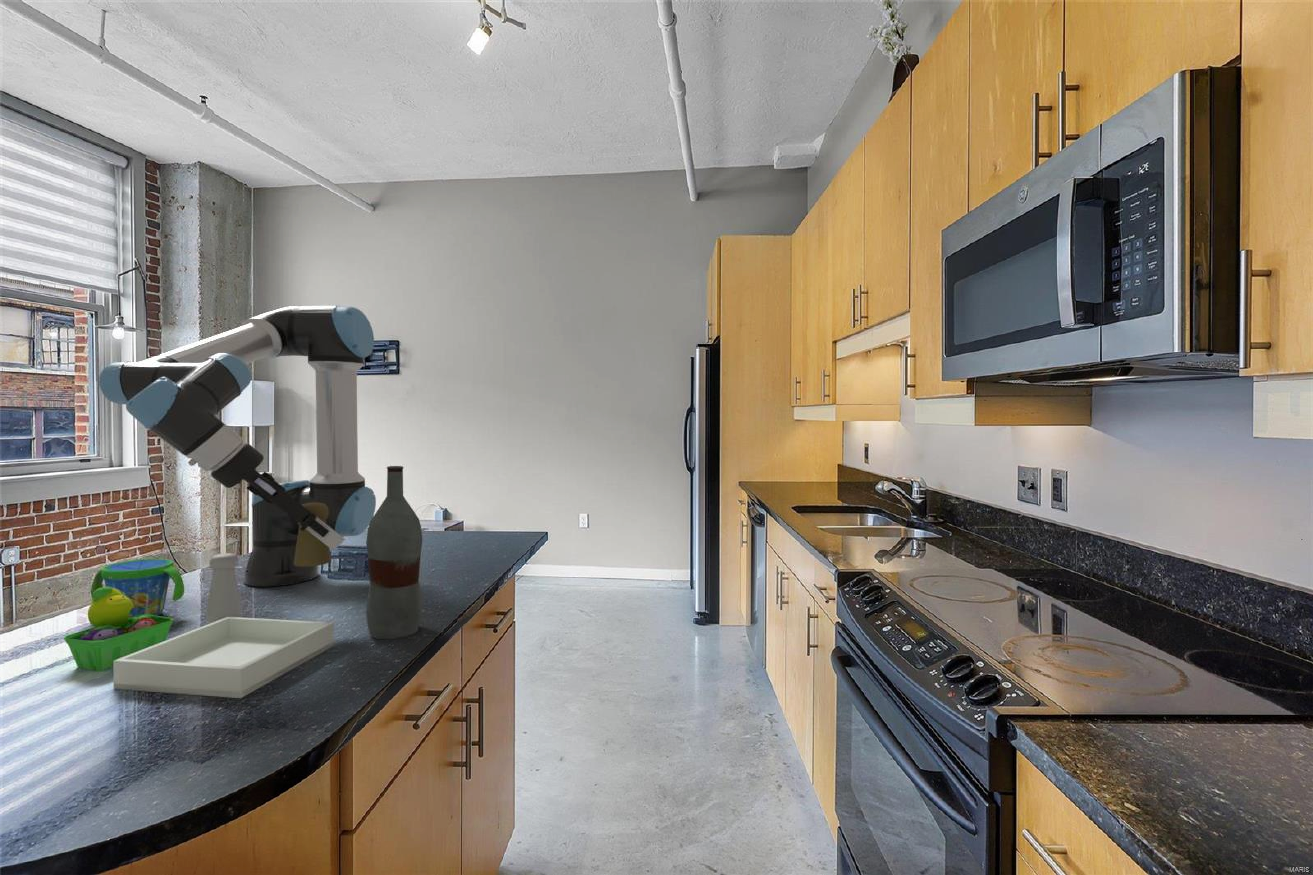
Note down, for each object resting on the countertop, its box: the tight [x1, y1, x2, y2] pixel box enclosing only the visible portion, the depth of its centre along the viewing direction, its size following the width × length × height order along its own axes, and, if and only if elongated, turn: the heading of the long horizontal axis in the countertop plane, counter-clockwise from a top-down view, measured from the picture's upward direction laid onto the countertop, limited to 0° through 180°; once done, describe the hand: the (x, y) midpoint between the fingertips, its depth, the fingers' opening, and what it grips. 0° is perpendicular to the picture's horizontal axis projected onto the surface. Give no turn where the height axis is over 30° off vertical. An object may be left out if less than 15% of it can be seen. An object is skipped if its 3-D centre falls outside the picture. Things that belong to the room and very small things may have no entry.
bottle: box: [365, 465, 423, 640], centre depth 109 cm, size 9×9×30 cm
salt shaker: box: [204, 552, 244, 624], centre depth 112 cm, size 6×6×13 cm
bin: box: [112, 616, 335, 699], centre depth 94 cm, size 20×20×4 cm
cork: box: [294, 502, 332, 567], centre depth 111 cm, size 6×6×11 cm
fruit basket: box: [63, 586, 174, 672], centre depth 96 cm, size 11×9×11 cm
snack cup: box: [90, 558, 185, 618], centre depth 116 cm, size 16×10×10 cm
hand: (334, 541), depth 114 cm, fingers closed on cork, 5 cm apart
